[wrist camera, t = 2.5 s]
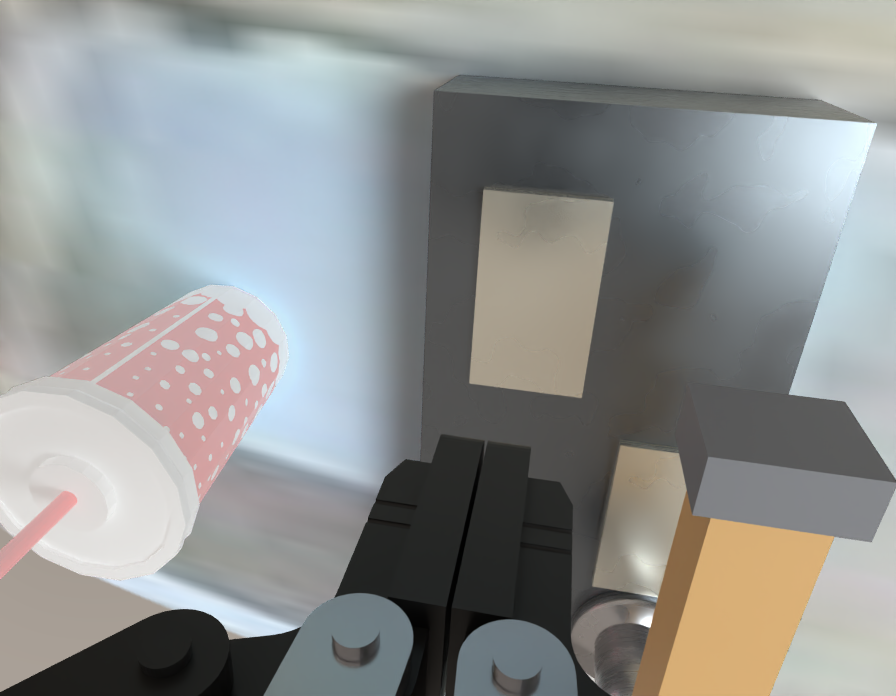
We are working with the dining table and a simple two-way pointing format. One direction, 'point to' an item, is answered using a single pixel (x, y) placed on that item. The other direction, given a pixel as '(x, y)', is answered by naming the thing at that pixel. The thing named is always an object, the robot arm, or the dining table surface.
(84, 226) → the dining table surface
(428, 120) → the dining table surface
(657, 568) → the grey rectangular block
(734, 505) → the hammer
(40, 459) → the beverage cup
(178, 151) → the dining table surface
